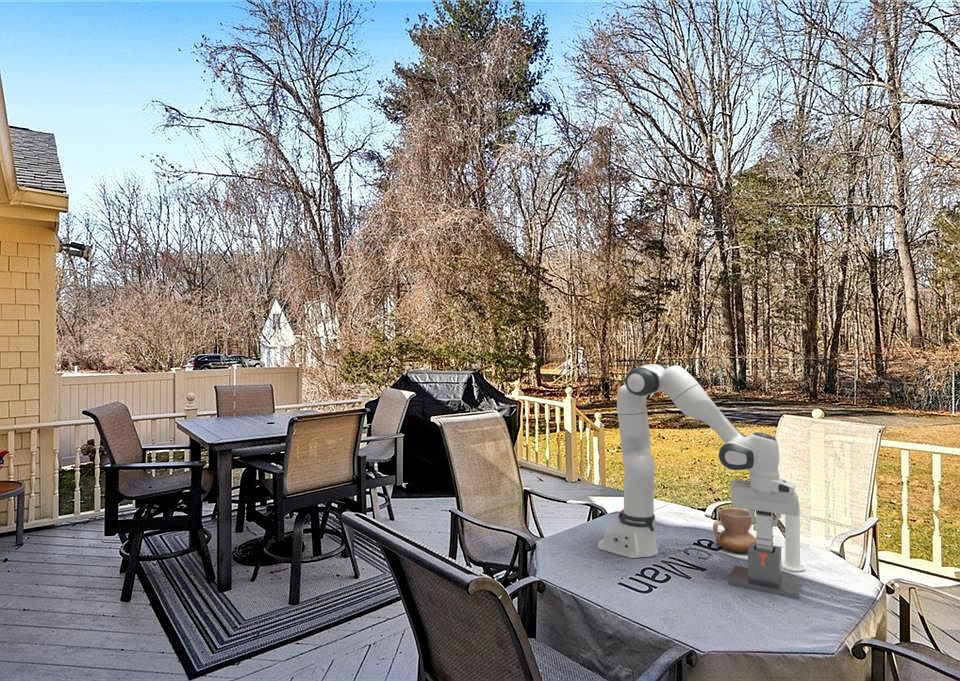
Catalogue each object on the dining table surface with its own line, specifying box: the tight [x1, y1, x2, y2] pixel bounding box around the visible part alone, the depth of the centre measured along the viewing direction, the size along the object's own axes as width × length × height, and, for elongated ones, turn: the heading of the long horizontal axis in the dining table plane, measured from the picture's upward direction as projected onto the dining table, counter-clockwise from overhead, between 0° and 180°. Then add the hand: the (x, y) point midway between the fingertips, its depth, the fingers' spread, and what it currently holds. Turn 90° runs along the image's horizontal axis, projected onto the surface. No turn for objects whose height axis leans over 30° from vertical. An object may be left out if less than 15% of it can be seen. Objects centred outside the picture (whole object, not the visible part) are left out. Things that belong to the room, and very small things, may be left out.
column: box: [755, 511, 774, 553], centre depth 187 cm, size 5×5×16 cm
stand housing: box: [728, 542, 802, 599], centre depth 187 cm, size 20×14×12 cm
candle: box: [781, 506, 805, 573], centre depth 199 cm, size 7×7×25 cm
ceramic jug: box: [712, 507, 757, 553], centre depth 218 cm, size 18×14×14 cm
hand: (764, 524), depth 187 cm, fingers closed on column, 4 cm apart
